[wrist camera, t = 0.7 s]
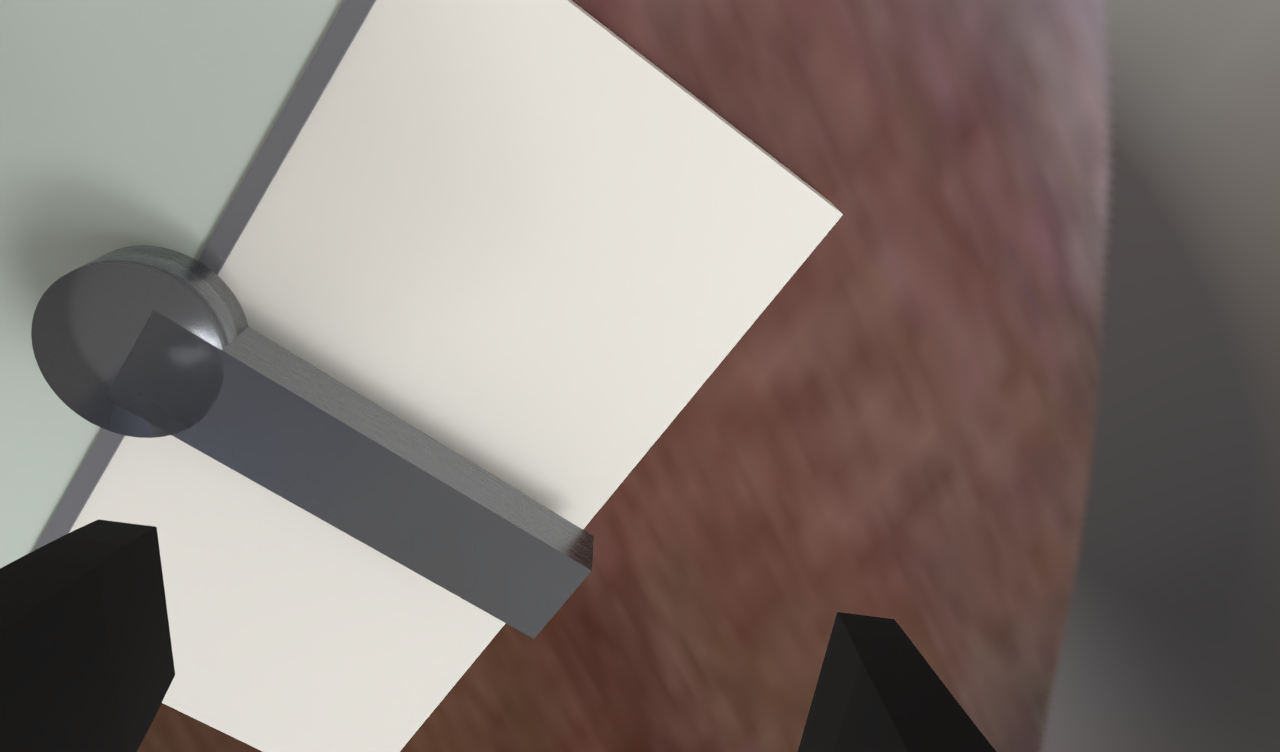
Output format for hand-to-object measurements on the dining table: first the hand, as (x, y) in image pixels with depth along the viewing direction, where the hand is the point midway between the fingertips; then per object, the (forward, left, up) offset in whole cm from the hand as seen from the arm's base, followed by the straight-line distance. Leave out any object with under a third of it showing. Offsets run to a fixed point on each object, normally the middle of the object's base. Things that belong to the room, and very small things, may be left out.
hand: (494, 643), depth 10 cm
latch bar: (-4, -1, -8) cm, 9 cm away
